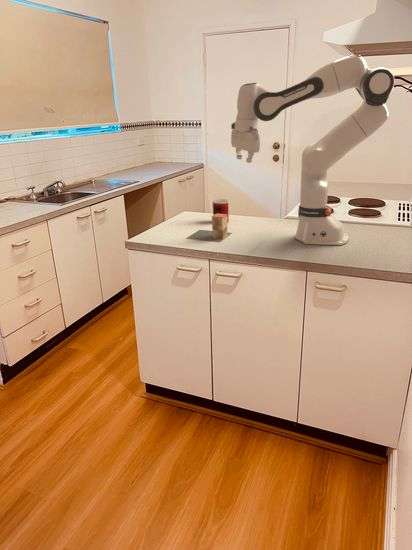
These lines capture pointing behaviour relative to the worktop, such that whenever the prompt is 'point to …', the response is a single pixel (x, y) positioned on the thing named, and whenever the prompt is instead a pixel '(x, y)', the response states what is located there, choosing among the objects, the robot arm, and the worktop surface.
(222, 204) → the canned food
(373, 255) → the worktop surface
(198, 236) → the slate mat
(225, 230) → the oak block
